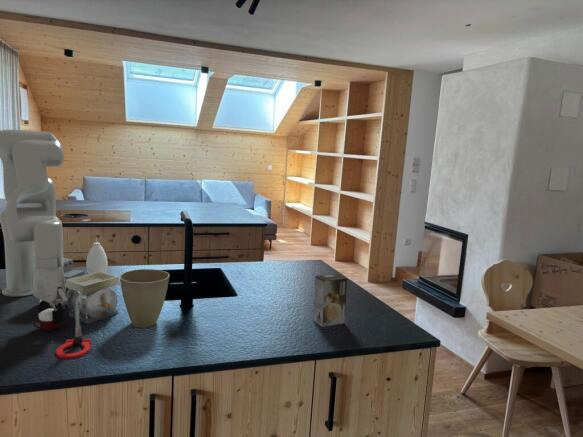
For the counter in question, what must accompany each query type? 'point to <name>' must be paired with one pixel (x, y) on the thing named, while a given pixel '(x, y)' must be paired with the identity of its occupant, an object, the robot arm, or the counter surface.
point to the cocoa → (47, 320)
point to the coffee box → (330, 299)
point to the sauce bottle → (96, 259)
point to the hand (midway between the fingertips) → (51, 318)
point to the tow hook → (75, 340)
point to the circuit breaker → (69, 272)
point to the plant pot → (144, 295)
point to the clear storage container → (92, 296)
